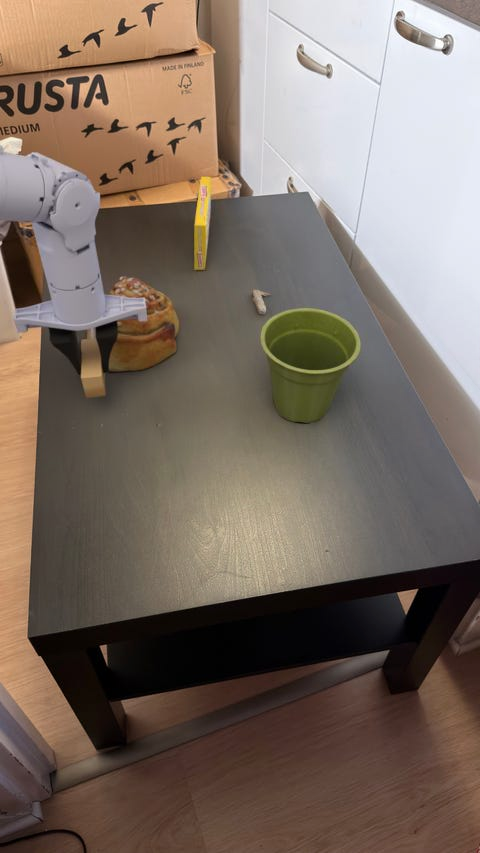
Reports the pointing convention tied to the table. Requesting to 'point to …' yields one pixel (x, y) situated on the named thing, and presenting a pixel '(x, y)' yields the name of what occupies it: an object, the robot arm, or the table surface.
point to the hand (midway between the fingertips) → (93, 368)
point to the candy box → (202, 223)
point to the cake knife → (92, 367)
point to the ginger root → (259, 301)
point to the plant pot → (307, 360)
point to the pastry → (143, 329)
